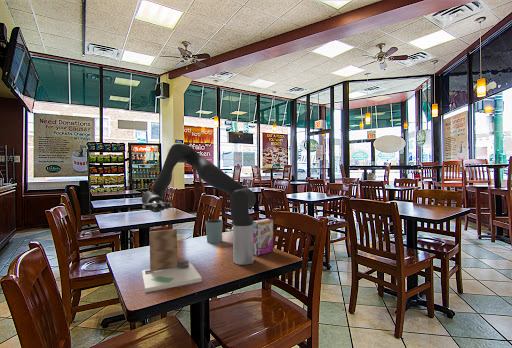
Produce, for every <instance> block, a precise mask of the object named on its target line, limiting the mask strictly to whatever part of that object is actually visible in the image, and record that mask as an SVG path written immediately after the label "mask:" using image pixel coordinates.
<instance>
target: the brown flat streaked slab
mask: <svg viewBox="0 0 512 348" xmlns="http://www.w3.org/2000/svg"><path fill="white" fill-rule="evenodd" d="M148 234H149V264H150V265H149V266H150V268H149V269H150V270H148V269H147V270H148V271H145V273H147V272H153V271H159V270H165V269H171V268H177V267H178V268H187V267H188V266H189V263H190V262H189V261H190V260H187V259H181V260H179V261H178V235H177V234H178V229H177V228H173V229H172V228H171V229H162V230H153V231H149V233H148ZM177 265H178V266H177Z"/></svg>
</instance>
